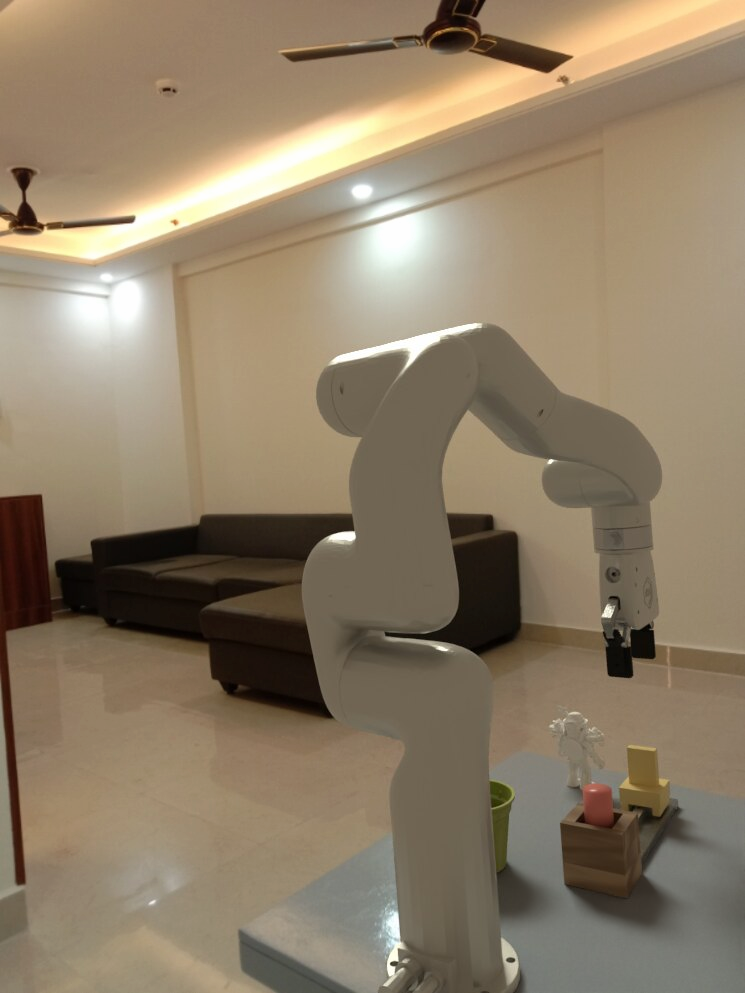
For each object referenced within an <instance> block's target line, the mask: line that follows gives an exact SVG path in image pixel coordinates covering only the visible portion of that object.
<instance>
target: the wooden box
mask: <svg viewBox="0 0 745 993" xmlns="http://www.w3.org/2000/svg"><path fill="white" fill-rule="evenodd" d="M619 809H620V808H613V815H614V827H613V828H612V829H610V828H605V827H599V826H594V825H589V824H585V817H584V803H583V802H577V803H576V804H575V805H574V807H572V809H571V810H570V811H569V812H568V813H567V814H566V815H565V817H564V818H563V819H562V820H561V821H560V822H559V828H560V841H561V856H562V869H563V882H564V883H563V884H564V885H567V886H571V887H574V888H575V887H576V888H581V889H585V890H588V891H593V892H598V893H602V894H604V895H605V894H606V895H610V896H614V897H619V898H623V899H627V898H628V896H629V895H630V893H631V892H632V890H633V889H634V887H635V886H636V884H637V882H638V881H639V879H640V878H641V876H642V874H643V870H642V866H641V852H640V838H639V823H638V813H636V812H630V811H624V810H619Z"/></svg>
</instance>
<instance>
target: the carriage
mask: <svg viewBox="0 0 745 993" xmlns="http://www.w3.org/2000/svg"><path fill="white" fill-rule="evenodd" d="M626 754H627V770H628V771H627V772H628V776H627V778H626V779H625V780H624V781H623V782H622V783H621V784H620V786H619V787H618V792H619V803H620V805H621V807H620V808H622V810H624V811H629V810H630V809H631V807H632V806H633V805H637V806H643V807H649V808H652V812H653V816H658V817H660V816H661V815H662V813H663V811H664V810H665V808H666V807H667V805H668V804H669V802H670V800H669V798H670V796H671V787H670V779H665V778H660V773H659V761H658V760H659V759H658V758H659V757H658V747H657V748H656V747H652V746H651V747H650V746H642V745H635V744H634V745H633V744H629V745H628V746H627V747H626Z"/></svg>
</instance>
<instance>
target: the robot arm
mask: <svg viewBox="0 0 745 993" xmlns="http://www.w3.org/2000/svg"><path fill="white" fill-rule="evenodd" d="M315 388H316V389H315V390H316V391H315V400H316V405H317V408H318V411H319V414H320V415H321V417H322V419H323V420H324V422H325V423H326V424H327V426H329V427H330V428H331V429H333V431H335V432H336V433H338V434H340V435H342V436H345V437H349V438H361V439H360V440H359V442H358V445H357V447H356V449H355V452H354V455H353V458H352V460H351V464H350V469H349V478H348V492H349V493H348V494H349V501H350V507H351V514H352V523H353V528H354V531H353V530H349V531H341V532H337V533H333V534H330V535H328V536H326V537H324V538H323V539H321V540H320V541H319V542H317V543H316V545H314V547H313V548H312V549H311V551H310V553H309V555H308V557H307V558H306V559H307V560H306V562H305V564H304V568H303V572H302V573H303V574H302V580H301V599H302V606H303V611H304V617H305V623H306V626H307V631H308V636H309V641H310V647H311V651H312V655H313V661H314V665H315V670H316V675H317V679H318V684H319V687H320V688H319V689H320V692H321V696H322V699H323V701H324V704H325V706H326V708H327V709H328V712H329V713H330V714H331V716H332V717H333V718H334V719H335V720H336V721H337V722H339V723H340V724H341V725H343V726H344V727H347V728H350V729H353V730H356V731H358V732H359V731H360V732H364V733H368V734H373V735H376V736H381V737H387V738H390V739H392V740H395V741H399V742H402V743H403V745H404V751H403V754H402V757H401V760H400V761H399V763H398V765H397V768H396V769H395V771H394V772H393V775H392V777H391V781H390V784H389V796H388V797H389V798H388V799H389V801H388V802H389V814H390V821H391V837H392V851H393V860H394V871H395V872H394V876H395V887H396V888H395V890H396V900H397V912H398V927H399V940H400V941H398V943H397V944H396V945H395V946H394V947H393V948H392V950H391V951H390V953H389V954H388V957H387V961H386V962H385V966H386V967H385V971H386V972H385V973H386V979H385V981H384V982H382V984H381V985H380V986H379V987H378V989H377V993H514V992H515V991H516V990H517V989H518V986H519V982H520V979H521V967H520V958H519V956H518V953H517V951H516V950H515V949H514V948H513V945H511V943H509V942H508V941H507V940H506V939H505V938H503V937H502V933H501V919H500V918H501V917H500V905H499V904H500V903H499V893H498V892H499V891H498V878H497V873H496V862H495V848H494V835H493V823H492V810H491V797H490V780H491V779H490V741H491V740H490V739H491V731H492V730H491V729H492V721H493V714H494V705H495V704H494V703H495V688H494V687H495V686H494V681H493V680H494V679H493V677H492V673H491V672H490V671H491V670H490V669H489V667H488V666H487V664H486V663H485V661H484V660H483V659H482V658H481V657H479V656H478V655H477V654H476V653H474V652H473V651H471V650H470V649H468V648H465V647H463V646H460V645H457V644H454V643H449V642H443V641H438V640H437V641H436V640H426V639H418V638H417V639H416V638H408V637H407V638H403V637H396V636H394V637H393V636H386V633H397V634H428V633H429V634H430V633H432V632H436V631H439V630H441V629H443V628H445V627H447V625H449V624H450V623H451V622H452V620H453V619H454V617H455V616H456V613H457V611H458V608H459V602H460V601H459V600H460V587H459V580H458V579H459V578H458V571H457V567H456V561H455V560H456V559H455V555H454V549H453V543H452V537H451V532H450V525H449V519H448V513H447V508H446V502H445V495H444V486H443V467H444V462H445V457H446V453H447V451H448V448H449V445H450V442H451V441H452V438H453V436H454V434H455V432H456V430H457V428H458V426H459V425H460V423H461V422H462V419H463V418H464V416H465V415H466V413H467V412H468V411H469V412H470V413H471V414H472V415H473V416H474V417H475V418H476V419H478V420H479V421H480V422H481V424H483V425H484V426H485V427H487V428H488V430H490V431H491V432H492V433H493V434H494V435H495V436H496V437H497V438H498V439H499V440H500V441H501V442H502V443H503V444H504V445H505V446H506V447H507V448H509V449H510V450H512V451H514V452H516V453H519V454H522V455H526V456H529V457H530V456H531V457H533V458H538V459H543V460H548V461H547V462H546V463H545V465H544V467H543V469H542V473H541V486H542V489H543V491H544V494H545V496H546V498H548V500H549V501H551V502H552V503H553V504H555V505H557V506H559V507H561V508H566V509H589V508H590V514H591V525H592V527H591V528H592V537H593V539H592V540H593V548H594V553H595V554H598V556H599V560H598V564H599V565H598V566H599V568H598V569H599V570H598V578H599V579H598V580H599V583H598V584H599V588H598V589H599V605H600V614H601V618H600V621H601V626H602V629H603V631H602V636H603V638H604V640H603V643H604V644H603V645H604V647H605V659H606V671H607V676H608V677H610V678H611V677H612V678H621V679H631V678H633V677H634V665H633V664H634V662H633V659H641V660H654V659H655V658H656V657H657V652H656V641H655V640H656V639H655V630H654V628H655V622H654V620H656V619H657V618H658V616H659V614H660V607H659V606H660V605H659V597H658V590H657V588H658V587H657V582H656V575H655V574H656V573H655V567H654V562H653V557H652V551H653V550H654V539H653V537H654V535H653V524H652V514H651V512H652V511H651V502H652V501H653V500H654V499H655V498H657V496H658V494H659V493H660V490H661V488H662V483H663V470H662V464H661V461H660V459H659V457H658V454H657V452H656V451H655V449H654V447H653V446H652V445H651V443H650V442H649V440H648V439H647V438H646V436H645V435H644V434H643V433H642V432H641V430H640V429H639V428H638V427H637V426H636V425H635V423H633V422H632V421H630V420H629V419H627V418H626V417H625V416H623V415H621V414H620V413H617V412H615V411H613V410H610V409H608V408H604V407H602V406H600V405H597V404H595V403H593V402H589V401H587V400H585V399H582V398H579V397H576V396H574V395H570V394H566V393H564V392H563V391H561V390H560V389H559V388H558V386H556V385H555V384H554V383H553V381H552V380H551V379H550V378H549V377H548V376H547V374H546V373H545V372H544V371H543V370H542V369H541V368H540V367H539V365H538V364H537V363H536V362H535V360H533V359H532V358H531V356H529V354H528V353H527V352H526V351H525V350H524V348H522V346H520V344H519V343H518V342H517V341H516V340H515V339H514V338H513V337H512V335H511V334H510V333H509V332H507V331H506V330H505V329H504V328H502V327H500V326H499V325H496V324H493V323H488V322H475V323H474V322H473V323H469V324H464V325H459V326H455V327H450V328H447V329H443V330H438V331H434V332H430V333H425V334H421V335H416V336H414V337H410V338H407V339H402V340H397V341H393V342H390V343H386V344H383V345H378V346H374V347H369V348H365V349H360V350H357V351H351V352H348V353H345V354H341V355H337V356H336V357H335V358H333V359H332V360H330V361H329V363H327V365H326V366H324V368H323V369H322V371H321V373H320V375H319V377H318V380H317V383H316V387H315ZM620 631H622V634H621V632H620ZM385 632H386V633H385ZM629 641H630V645H629Z"/></svg>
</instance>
